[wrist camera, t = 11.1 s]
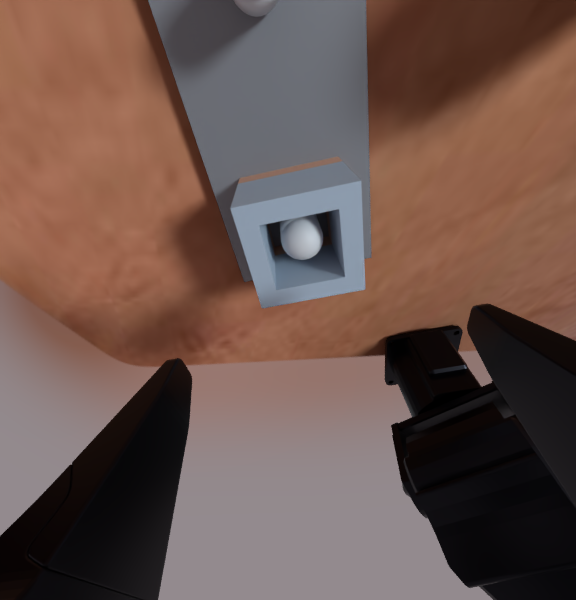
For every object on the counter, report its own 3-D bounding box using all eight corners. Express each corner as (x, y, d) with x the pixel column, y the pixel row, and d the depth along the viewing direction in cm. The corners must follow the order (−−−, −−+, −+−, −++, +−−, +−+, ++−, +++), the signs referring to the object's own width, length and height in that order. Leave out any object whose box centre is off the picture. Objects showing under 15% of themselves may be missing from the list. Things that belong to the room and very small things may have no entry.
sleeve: (345, 246, 19) (365, 289, 15) (263, 262, 20) (262, 308, 16) (338, 156, 16) (361, 180, 12) (239, 177, 16) (230, 208, 12)
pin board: (368, 252, 20) (393, 295, 16) (244, 275, 21) (238, 323, 17) (355, -216, 10) (420, -445, 6) (106, -139, 10) (-5, -290, 6)
